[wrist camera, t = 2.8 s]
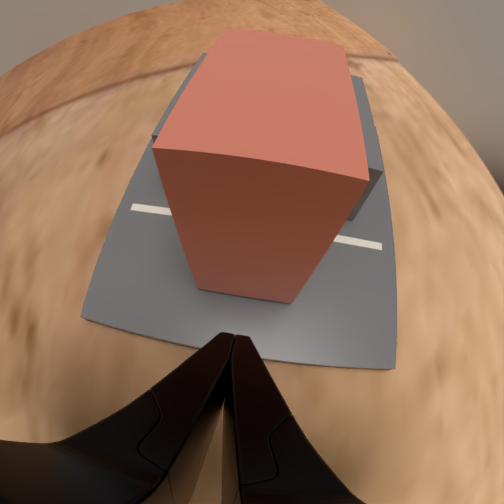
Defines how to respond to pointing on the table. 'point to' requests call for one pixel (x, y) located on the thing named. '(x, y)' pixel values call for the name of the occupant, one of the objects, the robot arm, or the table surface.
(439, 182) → the table surface
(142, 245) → the socket dock
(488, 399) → the table surface
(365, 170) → the plug
